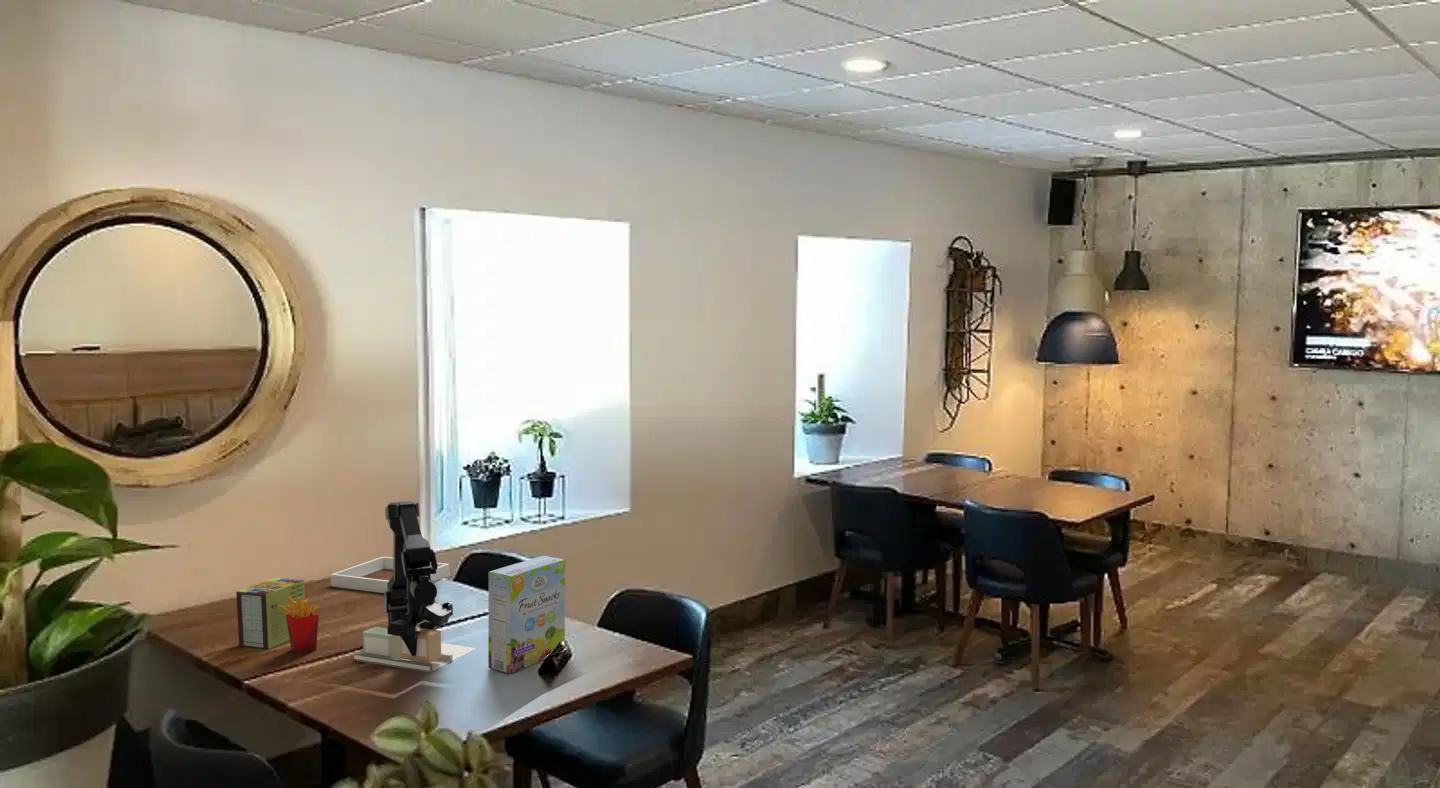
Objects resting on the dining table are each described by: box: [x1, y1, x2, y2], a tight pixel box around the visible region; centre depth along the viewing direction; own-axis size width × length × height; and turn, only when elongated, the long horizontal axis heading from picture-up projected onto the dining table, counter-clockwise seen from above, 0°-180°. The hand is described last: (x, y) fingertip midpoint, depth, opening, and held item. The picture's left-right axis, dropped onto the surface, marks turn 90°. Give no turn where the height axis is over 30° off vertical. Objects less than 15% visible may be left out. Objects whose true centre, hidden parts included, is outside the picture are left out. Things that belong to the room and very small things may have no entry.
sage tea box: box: [362, 626, 401, 659], centre depth 288 cm, size 9×5×7 cm, turn 67°
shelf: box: [353, 642, 477, 673], centre depth 291 cm, size 24×20×3 cm
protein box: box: [235, 576, 306, 650], centre depth 305 cm, size 10×15×16 cm
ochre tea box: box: [400, 626, 442, 663], centre depth 283 cm, size 9×5×7 cm, turn 67°
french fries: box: [278, 596, 320, 655], centre depth 295 cm, size 9×8×15 cm
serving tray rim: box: [329, 556, 450, 594], centre depth 367 cm, size 28×26×4 cm
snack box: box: [487, 555, 566, 675], centre depth 286 cm, size 22×9×26 cm, turn 148°
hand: (420, 652), depth 283 cm, fingers closed on ochre tea box, 5 cm apart
